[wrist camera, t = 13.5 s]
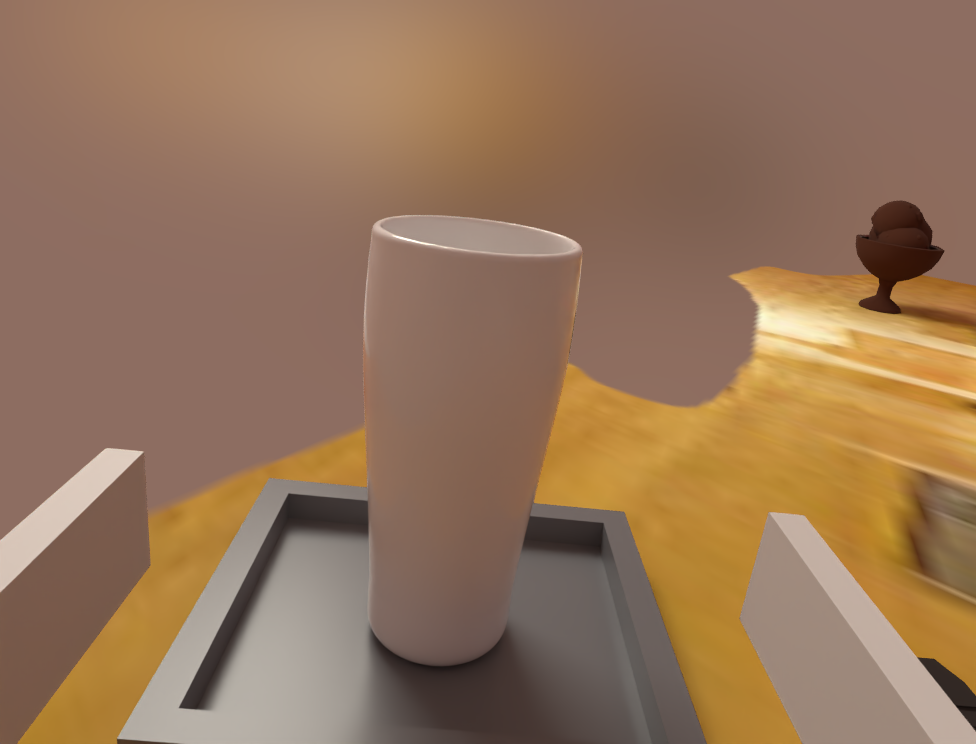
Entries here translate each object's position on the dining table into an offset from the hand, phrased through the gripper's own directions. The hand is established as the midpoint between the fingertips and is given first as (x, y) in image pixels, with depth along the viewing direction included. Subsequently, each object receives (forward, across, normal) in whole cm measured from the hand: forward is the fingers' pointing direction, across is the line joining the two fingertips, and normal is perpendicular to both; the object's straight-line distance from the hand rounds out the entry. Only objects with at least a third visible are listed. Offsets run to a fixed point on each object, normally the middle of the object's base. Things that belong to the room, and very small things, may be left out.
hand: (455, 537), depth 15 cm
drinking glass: (+10, 0, -10) cm, 14 cm away
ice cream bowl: (+86, +58, -11) cm, 105 cm away
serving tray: (+10, 0, -11) cm, 15 cm away
